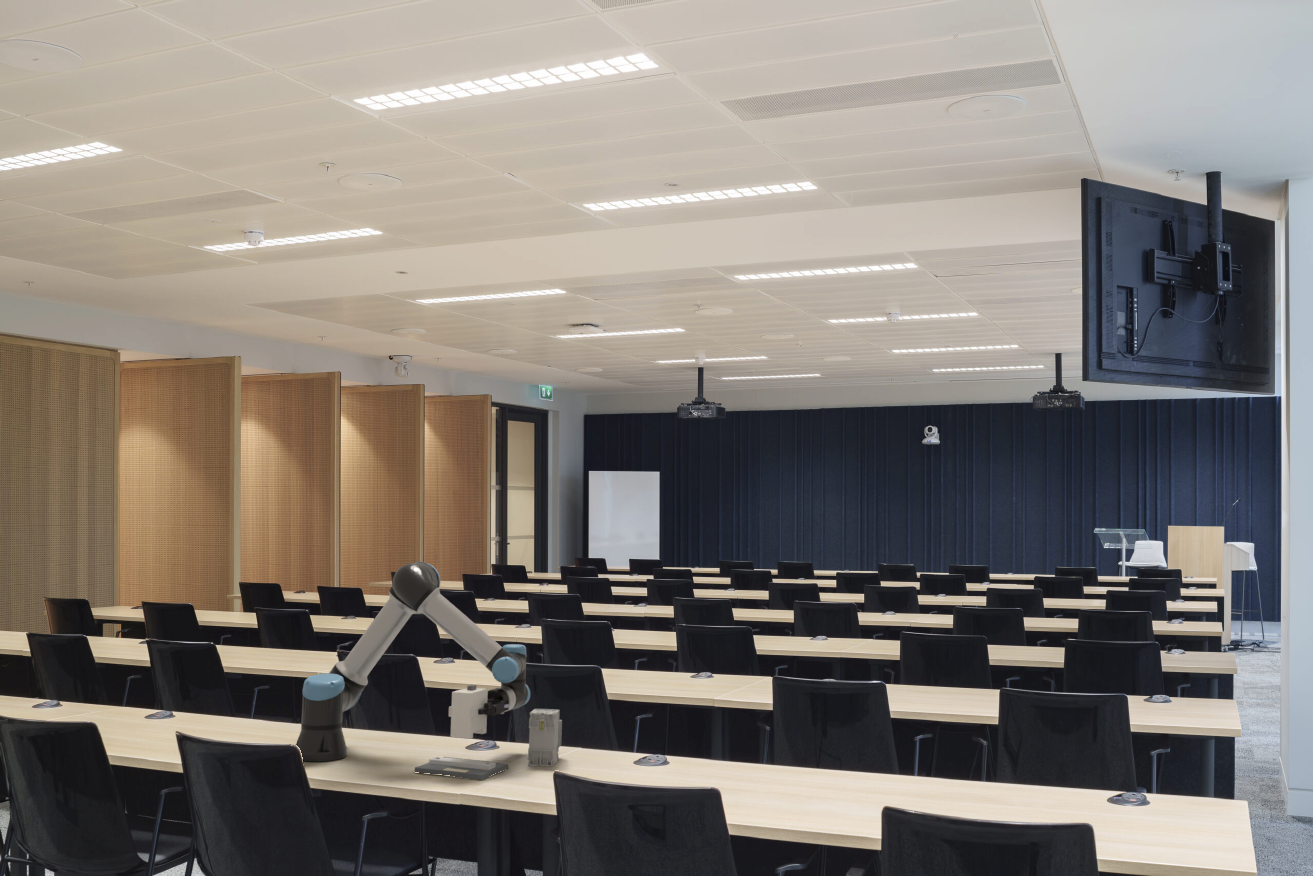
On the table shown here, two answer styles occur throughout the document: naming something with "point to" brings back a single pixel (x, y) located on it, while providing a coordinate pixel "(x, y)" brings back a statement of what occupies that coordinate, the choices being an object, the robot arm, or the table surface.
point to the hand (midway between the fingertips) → (460, 712)
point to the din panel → (461, 767)
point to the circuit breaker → (544, 737)
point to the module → (468, 712)
